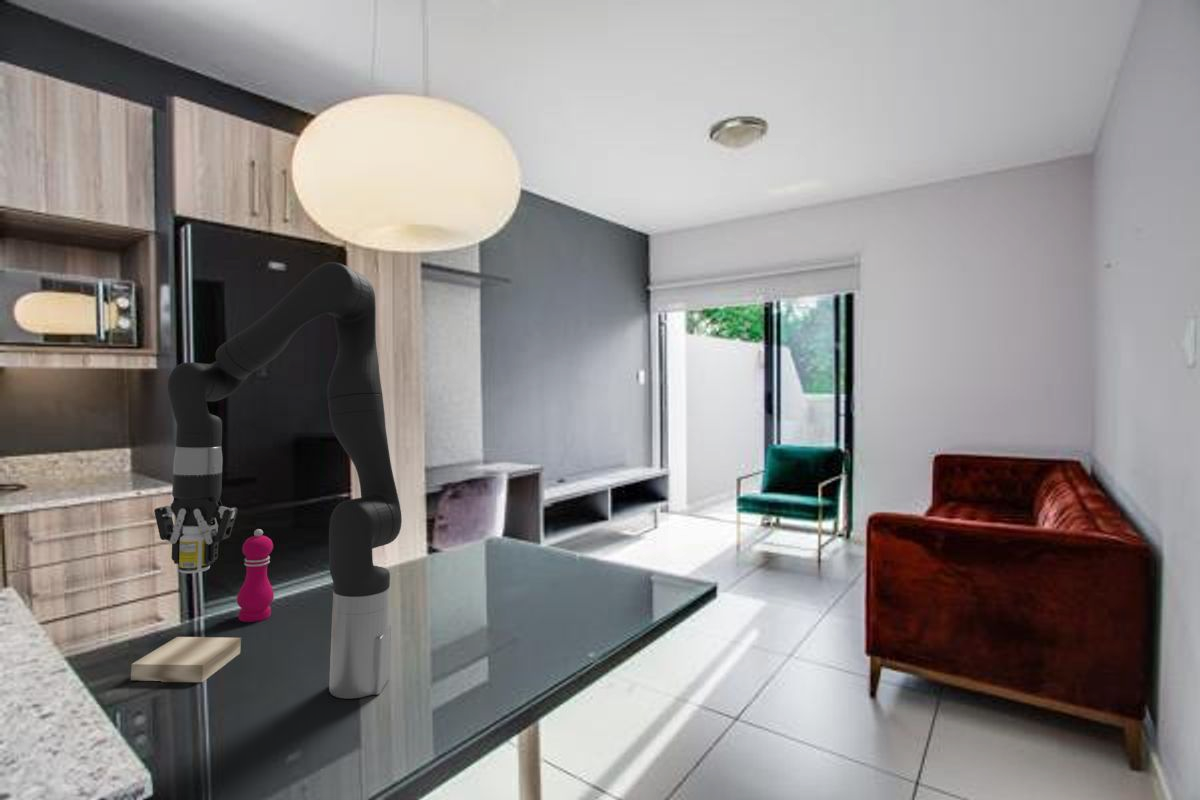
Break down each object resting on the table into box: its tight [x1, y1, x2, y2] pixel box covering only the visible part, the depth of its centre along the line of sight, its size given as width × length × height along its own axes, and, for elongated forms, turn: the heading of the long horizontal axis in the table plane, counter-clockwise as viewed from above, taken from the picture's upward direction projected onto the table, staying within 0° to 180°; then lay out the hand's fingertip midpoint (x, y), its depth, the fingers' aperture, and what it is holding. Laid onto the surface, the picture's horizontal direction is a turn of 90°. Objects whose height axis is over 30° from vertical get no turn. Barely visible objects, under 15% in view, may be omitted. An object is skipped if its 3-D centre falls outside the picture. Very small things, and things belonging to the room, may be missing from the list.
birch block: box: [130, 636, 242, 683], centre depth 108 cm, size 12×12×3 cm
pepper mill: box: [236, 528, 275, 623], centre depth 133 cm, size 7×7×20 cm
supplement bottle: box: [178, 524, 211, 574], centre depth 109 cm, size 5×5×8 cm
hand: (194, 562), depth 109 cm, fingers closed on supplement bottle, 4 cm apart
